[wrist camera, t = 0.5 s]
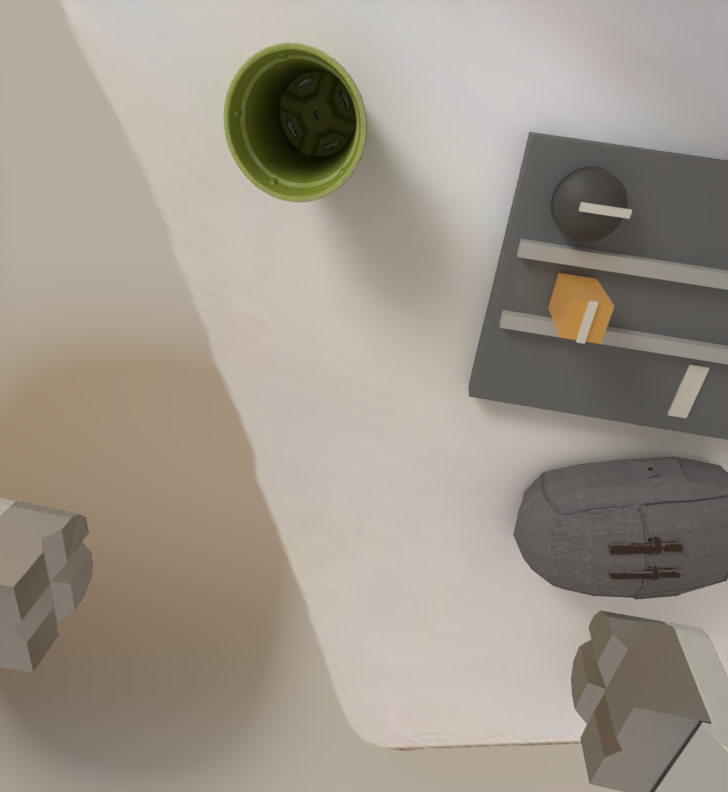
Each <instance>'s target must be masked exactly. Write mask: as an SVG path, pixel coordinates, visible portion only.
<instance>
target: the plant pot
mask: <svg viewBox="0 0 728 792" xmlns="http://www.w3.org/2000/svg"><path fill="white" fill-rule="evenodd" d="M306 79H312V83H311V84H308V85H305V86H303V87H302V88H299V89H298V90H297V89H296V88H297V86H298V85H299V84H300V83H301V82H302V81H303V80H306ZM340 91H341V92H344V94H345V96H346V98H347V100H348V102H349V105H350V106H349V109H348V110H347V109H346V107H345V104H344V101H343V99H342V97H341V95H340V94H339V92H340ZM316 111H318V112H319V113H320V118H319V119H316V118H315V116H314V113H315V112H316ZM288 119H289V120H291V123H292V125H293V128H294V130H295V132H296V133H297V137H294V136H293V134H292V132H291V130H290V129H289V128H288V124H287V121H288ZM224 129H225V135H226V140H227V143H228V147H229V149H230V152H231V154H232V156H233V158H234V160H235V162H236V163H237V165H238V167H239V168H240V170H241V171H242V172H243V173H244V175H245V176H246V177H247V178H248V179H249V180H250V181H251V182H252V183H253V184H254V185H255V186H256V187H258V188H259V189H261V190H262V191H264V192H266V193H267V194H269V195H271V196H273V197H276V198H278V199H282V200H286V201H291V202H308V201H313V200H317V199H320V198H322V197H325V196H327V195H329V194H330V193H332V192H334V191H335V190H337V189H338V188H339V187H340V186H341V185H343V184H344V183H345V182H346V180H347V179H348V178H349V177H350V176H351V174H352V173H353V172H354V170H355V168H356V167H357V165H358V163H359V161H360V159H361V156H362V153H363V150H364V146H365V141H366V133H367V121H366V113H365V108H364V104H363V100H362V97H361V95H360V93H359V90H358V88H357V86H356V84H355V83H354V81H353V79H352V78H351V77H350V75H349V74H348V73H347V71H346V70H345V69H344V68H343V67H342V66H341V65H340V64H339V63H338V62H337V61H336V60H335V59H333V58H332V57H330V56H329V55H327V54H326V53H324V52H322V51H320V50H318V49H316V48H314V47H311V46H308V45H304V44H299V43H283V44H277V45H273V46H270V47H267V48H265V49H263V50H261V51H259V52H257V53H256V54H254V55H253V56H252V57H250V58H249V59H248V60H247V61H246V62H245V63H244V64H243V65H242V66H241V68H240V69H239V70H238V72H237V73H236V75H235V76H234V78H233V80H232V82H231V84H230V86H229V89H228V92H227V95H226V99H225V105H224ZM336 139H339V143H338V144H337V145H336V146H334V147H332V148H330V149H324V148H323V146H324V145H326V144H329V143H332V142H333V141H335V140H336Z"/></svg>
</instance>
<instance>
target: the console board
mask: <svg viewBox="0 0 728 792" xmlns="http://www.w3.org/2000/svg"><path fill="white" fill-rule="evenodd" d="M558 273H564V274H571V275H577V276H584V277H590V278H597V280H598V281H599V283H600V284H601V286H602V287H603V289H604V290H605V292H606V293H607V295H608V296H609V298H610V299H611V301H612V303H613V304H614V309H613V312H612V315H611V317H610V320H609V323H608V326H607V329H606V332H605V334H604V337H603V340H602V343H601V344H597V343H591V342H585V344H583V343H577V342H576V340H572V339H566V338H560V337H559V334H558V331H557V329H556V326H555V324H554V321H553V319H552V316H551V314H550V311H549V308H548V307H549V304H550V300H551V297H552V293H553V290H554V287H555V283H556V280H557V276H558ZM469 396H470V397H476V398H482V399H488V400H494V401H500V402H506V403H512V404H518V405H524V406H530V407H536V408H542V409H548V410H554V411H560V412H566V413H572V414H578V415H584V416H590V417H596V418H602V419H608V420H614V421H620V422H626V423H632V424H638V425H644V426H650V427H656V428H662V429H668V430H674V431H680V432H686V433H692V434H698V435H704V436H710V437H716V438H722V439H728V161H726V160H719V159H712V158H705V157H698V156H691V155H684V154H677V153H671V152H664V151H657V150H650V149H643V148H636V147H629V146H622V145H615V144H609V143H602V142H595V141H588V140H581V139H574V138H567V137H560V136H553V135H547V134H540V133H533V132H530V133H529V137H528V141H527V145H526V149H525V153H524V158H523V162H522V166H521V170H520V174H519V178H518V183H517V187H516V191H515V195H514V199H513V203H512V208H511V212H510V216H509V220H508V224H507V228H506V233H505V237H504V241H503V245H502V249H501V253H500V258H499V262H498V266H497V270H496V274H495V278H494V283H493V287H492V291H491V295H490V299H489V303H488V308H487V312H486V316H485V320H484V324H483V328H482V333H481V337H480V341H479V345H478V349H477V353H476V358H475V362H474V366H473V370H472V374H471V378H470V382H469Z"/></svg>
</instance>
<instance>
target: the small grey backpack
mask: <svg viewBox="0 0 728 792" xmlns="http://www.w3.org/2000/svg"><path fill="white" fill-rule="evenodd" d="M514 537H515V539H516V542H517V544H518V547H519V549H520V551H521V554H522V556H523V558H524V560H525V561H526V562H527V564H528V565H529V566H530V568H531V569H532V570H533V571H535V572H536V573H537V574H538V575H540V576H541V577H542V578H544V579H545V580H546V581H548V582H549V583H550V584H552V585H553V586H556V587H559V588H562V589H566V590H570V591H575V592H579V593H583V594H588V595H592V596H610V597H632V598H634V599H646V598H658V597H669V596H678V595H680V594H682V593H686V592H689V591H693V590H696V589H700V588H703V587H706V586H710V585H713V584H717V583H720V582H724V581H726V580H727V579H728V473H727V472H726V471H725V470H724V469H723V468H722V467H721V466H719V465H714V464H709V463H703V462H698V461H693V460H687V459H682V458H677V457H668V458H649V459H630V460H617V461H608V462H598V463H589V464H580V465H576V466H571V467H567V468H562V469H558V470H553V471H548V472H544V473H543V474H542V475H541V476H540V477H539V478H538V479H537V480H536V481H535V482H534V483H533V484H532V485H531V486H530V487H529V488H528V489H527V490H526V491H525V492H524V497H523V502H522V504H521V506H520V509H519V512H518V517H517V521H516V526H515V530H514Z"/></svg>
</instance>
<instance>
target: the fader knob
mask: <svg viewBox="0 0 728 792" xmlns="http://www.w3.org/2000/svg"><path fill="white" fill-rule="evenodd" d="M548 308H549V311H550V314H551V316H552V319H553V321H554V324H555V326H556V329H557V331H558V334H559V337H560V338H566V339H572V340H576V342H577V343H583V344H585V342H591V343H597V344H601V343H602V340H603V337H604V334H605V332H606V329H607V326H608V323H609V320H610V317H611V315H612V312H613V309H614V304H613V303H612V301H611V299H610V298H609V296H608V295H607V293H606V292H605V290H604V289H603V287H602V286H601V284H600V283H599V281H598V280H597V278H590V277H584V276H577V275H571V274H564V273H558V276H557V280H556V283H555V287H554V290H553V293H552V297H551V300H550V304H549V307H548Z"/></svg>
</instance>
